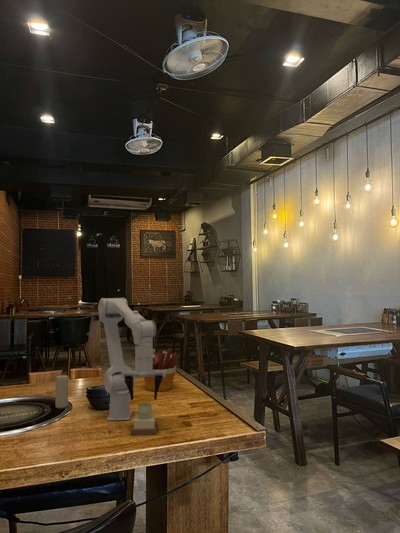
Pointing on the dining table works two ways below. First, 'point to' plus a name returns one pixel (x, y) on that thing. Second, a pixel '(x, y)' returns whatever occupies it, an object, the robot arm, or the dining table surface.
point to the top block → (144, 422)
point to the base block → (144, 431)
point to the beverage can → (61, 391)
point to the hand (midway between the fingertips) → (143, 399)
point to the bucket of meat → (163, 363)
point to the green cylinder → (144, 411)
